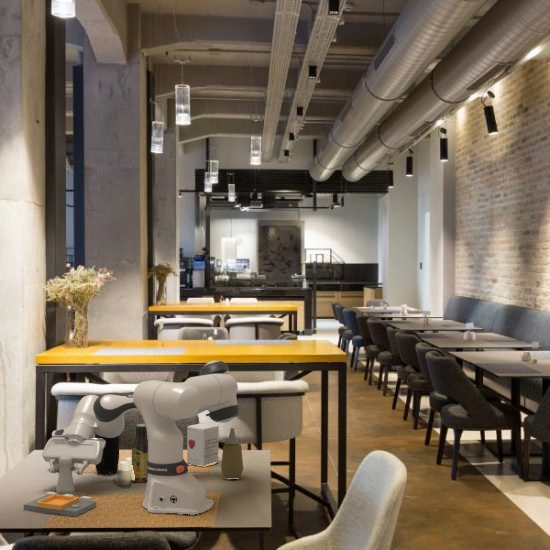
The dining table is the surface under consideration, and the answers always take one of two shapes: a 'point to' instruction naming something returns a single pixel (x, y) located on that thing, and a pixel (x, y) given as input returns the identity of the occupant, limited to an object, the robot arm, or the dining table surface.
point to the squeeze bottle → (232, 457)
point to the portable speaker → (109, 456)
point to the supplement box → (202, 444)
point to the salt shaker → (65, 476)
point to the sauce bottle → (140, 453)
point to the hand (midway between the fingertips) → (65, 473)
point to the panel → (61, 504)
